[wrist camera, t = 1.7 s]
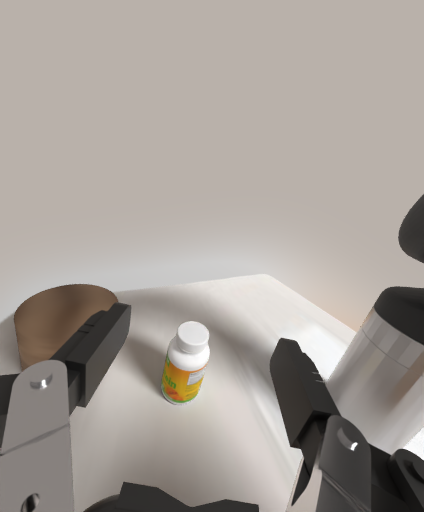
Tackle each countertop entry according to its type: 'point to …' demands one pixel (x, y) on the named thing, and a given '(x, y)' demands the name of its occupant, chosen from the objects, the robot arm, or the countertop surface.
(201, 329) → the supplement bottle
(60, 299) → the walnut block
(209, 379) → the countertop surface
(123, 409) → the countertop surface
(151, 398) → the countertop surface
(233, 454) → the countertop surface
